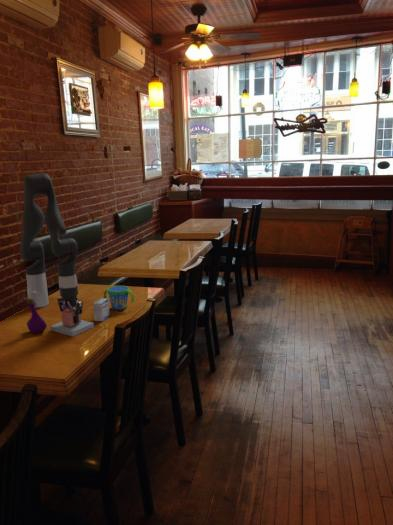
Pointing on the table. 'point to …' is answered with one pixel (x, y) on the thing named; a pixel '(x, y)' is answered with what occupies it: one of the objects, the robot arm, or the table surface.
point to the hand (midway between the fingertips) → (71, 322)
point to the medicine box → (101, 309)
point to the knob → (69, 317)
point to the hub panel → (72, 328)
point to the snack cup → (119, 296)
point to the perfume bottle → (35, 318)
